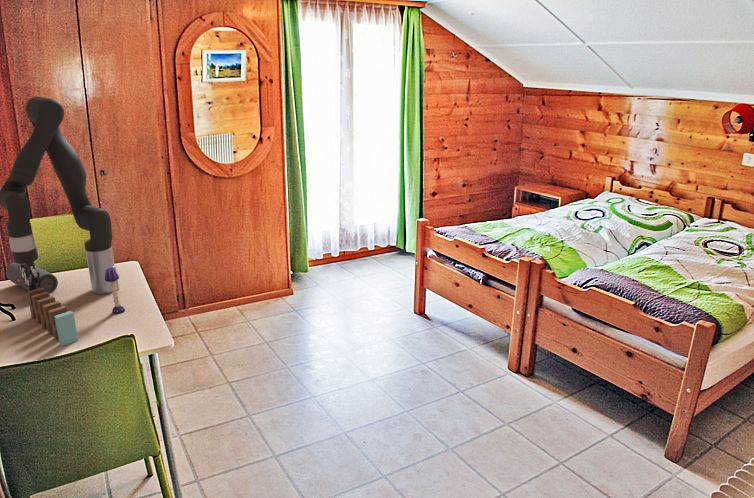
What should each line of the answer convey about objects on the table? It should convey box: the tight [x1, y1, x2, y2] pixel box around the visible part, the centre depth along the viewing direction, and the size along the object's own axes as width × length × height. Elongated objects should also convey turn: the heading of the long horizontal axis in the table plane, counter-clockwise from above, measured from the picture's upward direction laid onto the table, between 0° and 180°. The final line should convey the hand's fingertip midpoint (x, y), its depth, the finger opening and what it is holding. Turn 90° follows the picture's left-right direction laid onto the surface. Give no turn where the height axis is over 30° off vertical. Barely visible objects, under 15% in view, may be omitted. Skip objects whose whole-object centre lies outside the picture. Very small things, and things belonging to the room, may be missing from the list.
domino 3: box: [37, 295, 56, 330], centre depth 197 cm, size 2×5×10 cm, turn 140°
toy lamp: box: [105, 267, 126, 315], centre depth 207 cm, size 5×5×17 cm
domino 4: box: [42, 300, 63, 336], centre depth 194 cm, size 2×5×10 cm, turn 140°
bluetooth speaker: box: [5, 261, 59, 295], centre depth 225 cm, size 23×9×10 cm, turn 56°
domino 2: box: [31, 292, 51, 325], centre depth 201 cm, size 2×5×10 cm, turn 140°
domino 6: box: [54, 310, 79, 347], centre depth 187 cm, size 2×5×10 cm, turn 140°
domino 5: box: [48, 305, 68, 341], centre depth 190 cm, size 2×5×10 cm, turn 140°
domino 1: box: [26, 288, 45, 320], centre depth 204 cm, size 2×5×10 cm, turn 141°
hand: (33, 293), depth 205 cm, fingers closed
